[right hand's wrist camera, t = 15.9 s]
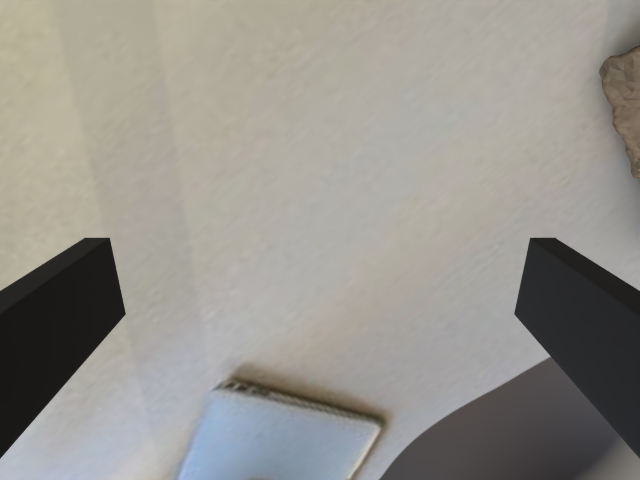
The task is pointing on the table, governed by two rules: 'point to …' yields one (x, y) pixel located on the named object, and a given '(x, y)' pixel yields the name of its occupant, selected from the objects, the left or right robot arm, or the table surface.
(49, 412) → the table surface
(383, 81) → the table surface
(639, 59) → the stone
